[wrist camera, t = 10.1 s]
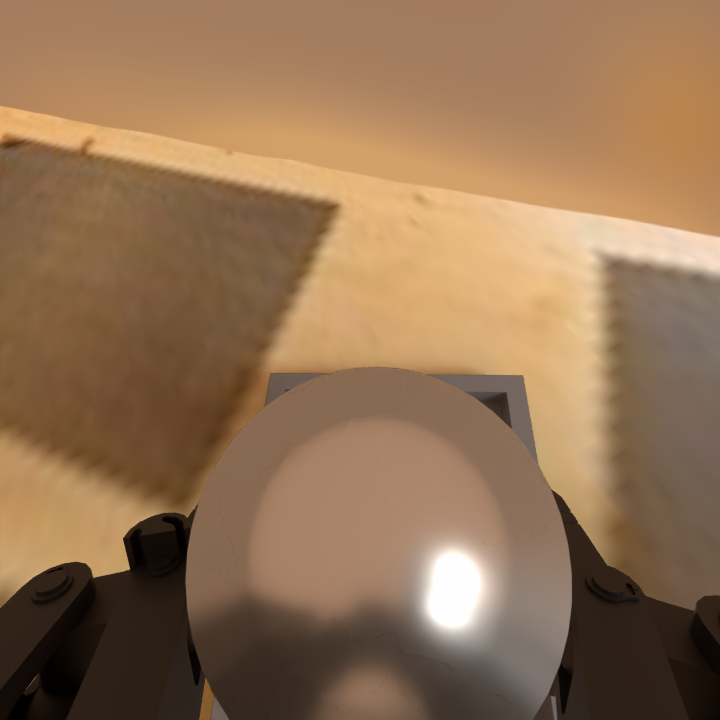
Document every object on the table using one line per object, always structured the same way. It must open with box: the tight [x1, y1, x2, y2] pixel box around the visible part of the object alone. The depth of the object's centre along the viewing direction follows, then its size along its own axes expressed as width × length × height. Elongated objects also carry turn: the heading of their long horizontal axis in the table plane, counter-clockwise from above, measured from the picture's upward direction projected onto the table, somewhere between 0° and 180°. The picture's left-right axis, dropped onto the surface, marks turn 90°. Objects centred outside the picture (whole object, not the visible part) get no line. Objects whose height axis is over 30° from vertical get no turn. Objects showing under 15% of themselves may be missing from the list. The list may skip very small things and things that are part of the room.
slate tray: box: [210, 373, 557, 720], centre depth 22 cm, size 17×22×2 cm
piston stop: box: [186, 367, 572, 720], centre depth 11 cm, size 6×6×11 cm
